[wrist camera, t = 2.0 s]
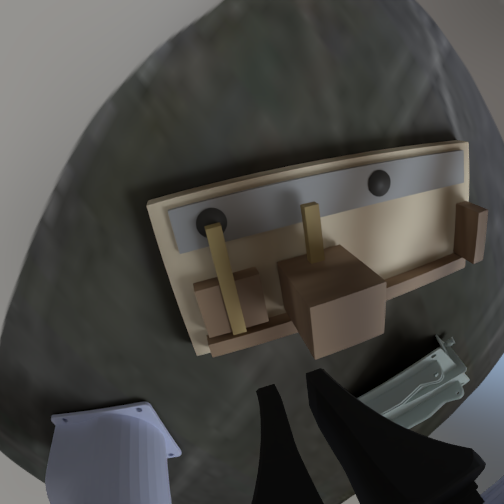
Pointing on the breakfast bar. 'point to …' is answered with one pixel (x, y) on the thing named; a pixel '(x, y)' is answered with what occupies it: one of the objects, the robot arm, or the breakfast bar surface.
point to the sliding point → (330, 293)
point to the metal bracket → (420, 387)
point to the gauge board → (333, 232)
